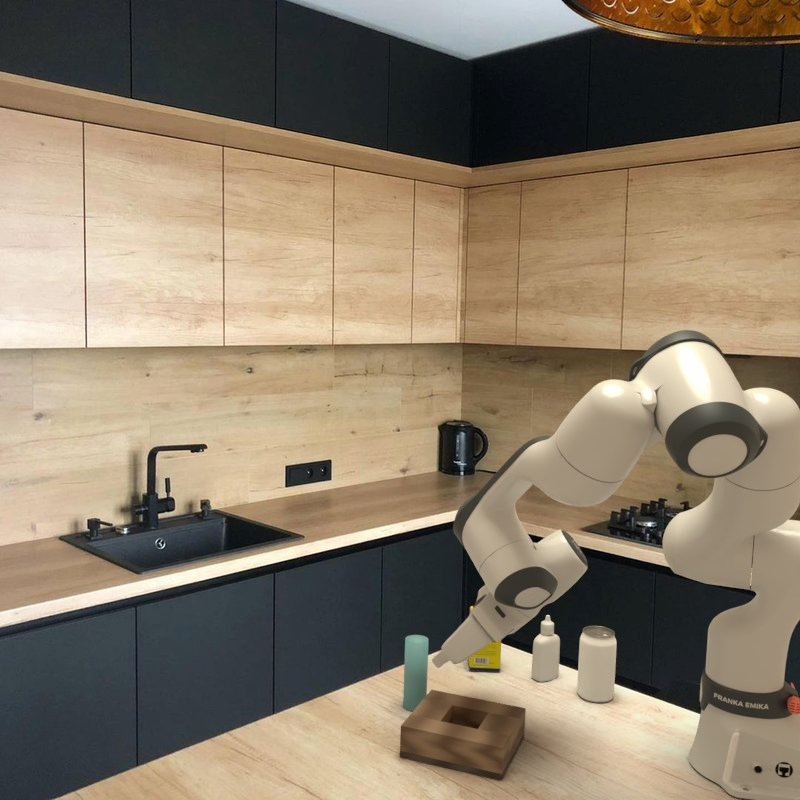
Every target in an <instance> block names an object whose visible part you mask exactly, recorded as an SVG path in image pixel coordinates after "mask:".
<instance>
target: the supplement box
mask: <svg viewBox="0 0 800 800" xmlns="http://www.w3.org/2000/svg"><path fill="white" fill-rule="evenodd" d="M473 606H474V605H471V606H470V607H469V615H470V614H471V609H472V608H473ZM501 653H502V640H500V641H499V642H495V641H492V642H491V643H490V644H488V645H487V646H486V647H484V648H483V649H481V650H480V651H478V652H477V653H475V654H474V655H472V656H470V657H469V658H467V664H468V670H469V672H482V673H483V672H484V673H485V672H486V673H500V672H501V659H502V658H501V655H502V654H501Z"/></svg>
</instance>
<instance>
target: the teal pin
mask: <svg viewBox="0 0 800 800" xmlns="http://www.w3.org/2000/svg"><path fill="white" fill-rule="evenodd" d="M404 642H405V643H404V664H403V665H404V668H403V671H404V672H403V693H402V694H403V698H402V699H403V700H402V708H403V709H404V708H405V709H404V710H406V709H407V710H406V711H408V710H409V711H408V712H412V711H414V710H415V708H416V707H417V706H418V705H419V704H420V703H421V701H422V700H423V699H424V698H425V697H426V696H427V694H428V670H429V669H428V668H429V667H428V665H429V638H428V637H427V636H425V635H421V634H411V635H407V636H405V638H404Z"/></svg>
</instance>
